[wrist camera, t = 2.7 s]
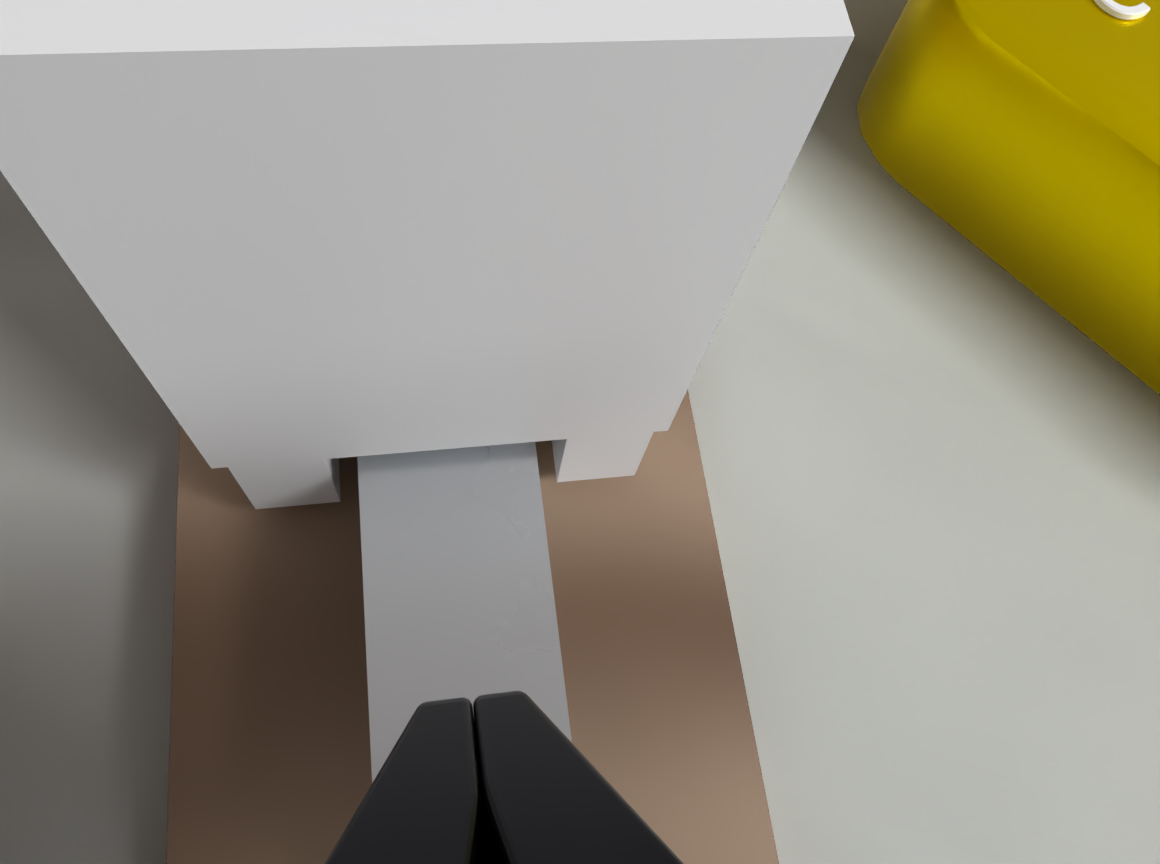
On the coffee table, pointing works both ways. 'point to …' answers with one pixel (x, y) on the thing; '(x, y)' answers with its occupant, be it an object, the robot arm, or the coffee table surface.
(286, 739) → the mounting board
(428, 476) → the rail
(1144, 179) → the element tile
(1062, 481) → the coffee table surface
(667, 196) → the block
